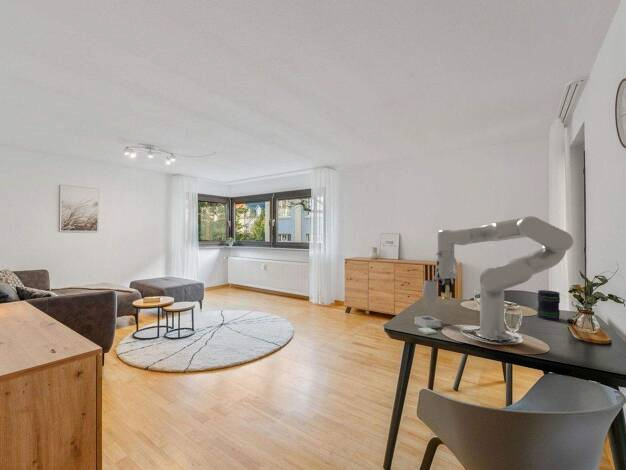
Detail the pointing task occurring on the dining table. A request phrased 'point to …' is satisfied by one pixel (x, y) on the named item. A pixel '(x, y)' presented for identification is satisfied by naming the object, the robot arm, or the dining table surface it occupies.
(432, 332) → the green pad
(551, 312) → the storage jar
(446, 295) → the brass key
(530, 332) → the dining table surface
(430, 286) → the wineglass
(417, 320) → the chuck block
